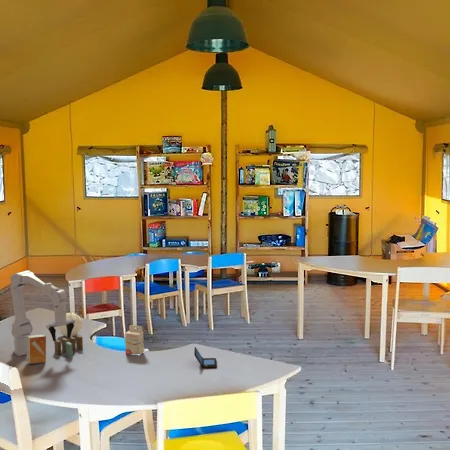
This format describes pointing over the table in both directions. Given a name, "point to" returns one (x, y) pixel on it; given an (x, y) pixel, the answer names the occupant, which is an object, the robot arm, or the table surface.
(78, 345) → the domino
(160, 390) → the table surface
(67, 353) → the domino
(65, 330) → the geodesic sphere
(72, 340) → the domino
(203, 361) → the handheld game console
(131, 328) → the ink cartridge box
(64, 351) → the domino
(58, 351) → the domino
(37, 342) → the small box
